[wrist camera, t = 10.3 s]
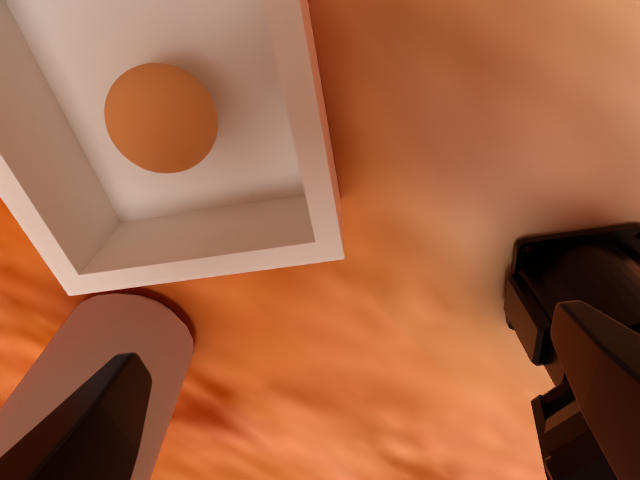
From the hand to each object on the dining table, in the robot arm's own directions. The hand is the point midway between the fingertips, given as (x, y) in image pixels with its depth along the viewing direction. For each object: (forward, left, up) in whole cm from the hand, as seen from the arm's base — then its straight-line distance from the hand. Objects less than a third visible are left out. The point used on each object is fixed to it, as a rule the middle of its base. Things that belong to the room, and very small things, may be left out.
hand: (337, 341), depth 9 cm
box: (+6, -3, -12) cm, 14 cm away
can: (+14, +10, -12) cm, 21 cm away
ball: (+6, -3, -9) cm, 11 cm away
